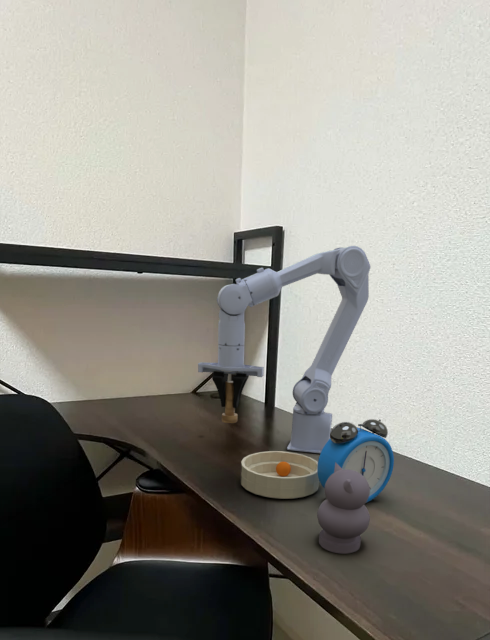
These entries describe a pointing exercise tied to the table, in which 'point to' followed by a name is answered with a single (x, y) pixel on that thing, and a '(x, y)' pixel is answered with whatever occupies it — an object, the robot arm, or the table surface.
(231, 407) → the muddler
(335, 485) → the cat figurine
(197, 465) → the table surface
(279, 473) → the ball
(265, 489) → the bowl
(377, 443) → the alarm clock
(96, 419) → the table surface
